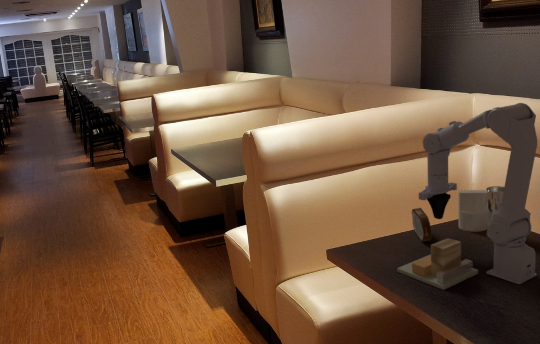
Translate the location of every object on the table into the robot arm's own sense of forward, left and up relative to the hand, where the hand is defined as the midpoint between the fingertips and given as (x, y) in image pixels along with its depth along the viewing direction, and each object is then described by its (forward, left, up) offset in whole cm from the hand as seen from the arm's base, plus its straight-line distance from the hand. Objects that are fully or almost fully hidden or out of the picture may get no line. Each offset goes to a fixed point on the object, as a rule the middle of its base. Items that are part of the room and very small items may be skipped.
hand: (438, 218), depth 162 cm
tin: (+10, -4, -10) cm, 14 cm away
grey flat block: (-11, +14, -9) cm, 20 cm away
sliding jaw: (-10, +14, -8) cm, 19 cm away
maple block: (-14, +14, -8) cm, 21 cm away
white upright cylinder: (+4, -22, -10) cm, 24 cm away
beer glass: (-6, -20, -10) cm, 23 cm away
